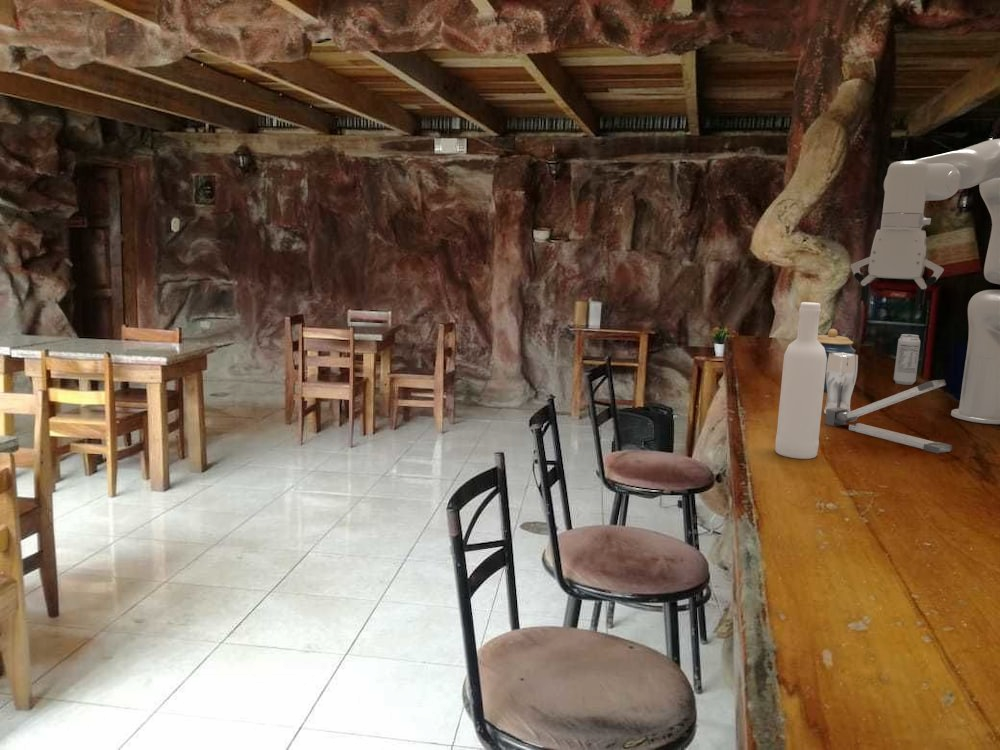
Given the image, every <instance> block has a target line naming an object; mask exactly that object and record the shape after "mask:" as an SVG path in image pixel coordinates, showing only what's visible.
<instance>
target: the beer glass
mask: <svg viewBox="0 0 1000 750" xmlns="http://www.w3.org/2000/svg"><path fill="white" fill-rule="evenodd" d="M858 360H859V355H858V354H856V353H854V354H850V353H839V352H833V353H829V357H828V362H827V368H826V386H827V392H826V403H825V405H824V406H825V407H824V409H823V414H825V415H826V409H830V408H838V407H839V408H843V409H848V411H851V400H852V399H851V397H852V395H853V391H854V388H855V384H856V382H857V381H856V380H857V376H858V368H859V361H858Z"/></svg>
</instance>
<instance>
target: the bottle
mask: <svg viewBox="0 0 1000 750" xmlns="http://www.w3.org/2000/svg"><path fill="white" fill-rule="evenodd" d="M798 312H799V317H798V325H797V327H798V328H797V336H796V337H797V338H795V339H794V340H793V341H792V342H791V343H789V344H788V346H787V348H786V349H785V352H784V354H783V362H782V363H783V364H782V374H781V386H780V398H779V405H778V415H777V416H778V417H777V429H776V435H775V453H777V454H778V455H780V456H783V457H786V458H791V459H796V460H797V459H798V460H799V459H800V460H810V459H814V458H816V457H817V456H818V449H819V445H820V443H819V442H820V441H819V439H820V438H819V437H820V431H821V420H822V412H823V410H822V409H823V401H824V393H825V392H824V383H825V373H826V363H827V356H826V352H825V348H824V347H823V346H822V344H821V343H820V342H819V341H818V340H817V336H818V335H819V326H820V314H821V312H822V310H821V303H820V302H812V301H811V302H809V301H802V302H801V303H800V305H799V308H798Z"/></svg>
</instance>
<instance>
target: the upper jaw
mask: <svg viewBox="0 0 1000 750" xmlns="http://www.w3.org/2000/svg"><path fill="white" fill-rule="evenodd" d="M944 386H947V383H946V380H945V379H935V380H934V379H933V380H928V381H927V382H924V383H921V384H919V385H917V386H914V387H912V388H909V389H907V390H904V391H901V392H898V393H896V394H894V395H891V396H888V397H886V398H882V399H880V400H877V401H874V402H872V403H869V404H867V405H863V406H862V407H859V408H856V409H853V410H850V411H848V412H840V413H838V414H837V415H836V419H837V421H838V422H839V423H845V422H846V423H850V422H856V421H857V420H858V418H859V417H862V416H864V415H867V414H870V413H872V412H875V411H878V410H881V409H883V408H886V407H888V406H891V405H895V404H896V403H900V402H902V401H906V400H907V399H910V398H912V397H913V398H914V397H916V396H918V395H921V394H924V393H927V392H930V391H933V390H936V389H939V388H941V387H944Z"/></svg>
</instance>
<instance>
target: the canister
mask: <svg viewBox="0 0 1000 750" xmlns="http://www.w3.org/2000/svg"><path fill="white" fill-rule="evenodd" d="M838 333H839V332H838V330H837V329H835V328H830V329H829V330H828V331H827V334H818V336H817V340H818V341H819V342H820V343H821V344H822V346H823V347H824V348H825V352H826V356H827V362H828V357H829V353H833V352H839V353H850V354H856V352H857V351H856V349H854V348H853V346H852V345H853V344H854V341H853V340H850V339H849V337H847V336H841V335H838ZM826 368H827V363H826ZM823 393H827V386H826V373H825V383H824V392H823Z"/></svg>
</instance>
